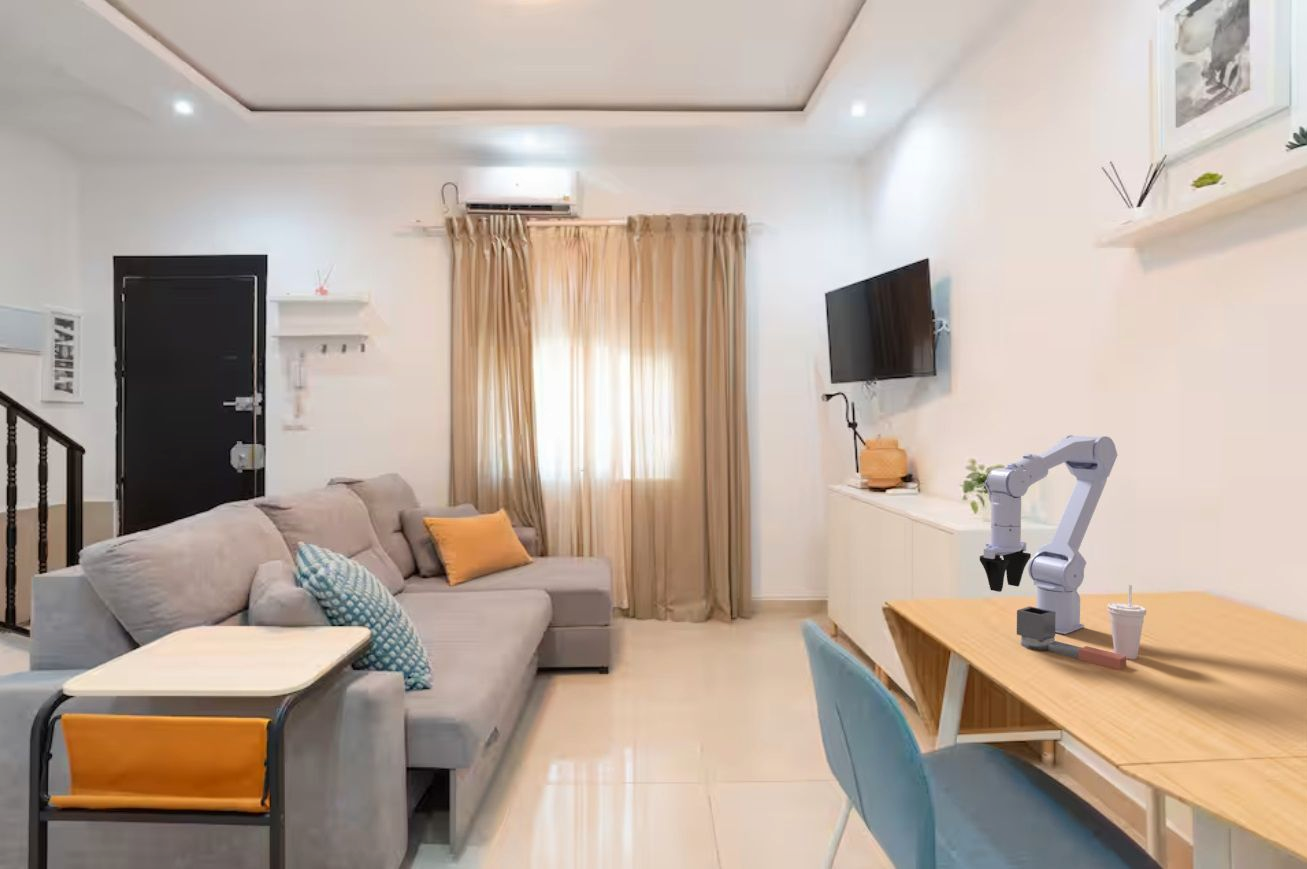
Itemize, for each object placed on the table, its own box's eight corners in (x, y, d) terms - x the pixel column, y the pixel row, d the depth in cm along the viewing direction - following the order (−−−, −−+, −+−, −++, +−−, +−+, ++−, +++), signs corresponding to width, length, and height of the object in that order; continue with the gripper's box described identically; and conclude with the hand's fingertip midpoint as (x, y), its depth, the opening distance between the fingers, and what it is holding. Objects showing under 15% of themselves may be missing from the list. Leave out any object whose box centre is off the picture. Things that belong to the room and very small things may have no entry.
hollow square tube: (1029, 630, 149) (1029, 606, 149) (1055, 636, 144) (1055, 611, 144) (1016, 634, 146) (1017, 610, 146) (1042, 640, 141) (1043, 616, 141)
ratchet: (1129, 664, 134) (1129, 637, 134) (1115, 671, 131) (1116, 643, 130) (1030, 639, 149) (1030, 615, 149) (1015, 645, 146) (1015, 620, 145)
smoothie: (1151, 662, 135) (1153, 589, 135) (1114, 660, 137) (1116, 588, 136) (1136, 651, 142) (1137, 581, 141) (1100, 649, 143) (1101, 580, 142)
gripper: (1003, 519, 159) (1003, 579, 159) (970, 525, 150) (969, 589, 151) (1036, 523, 153) (1035, 585, 154) (1003, 529, 145) (1002, 596, 145)
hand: (1004, 588), depth 152 cm, fingers open, 7 cm apart
